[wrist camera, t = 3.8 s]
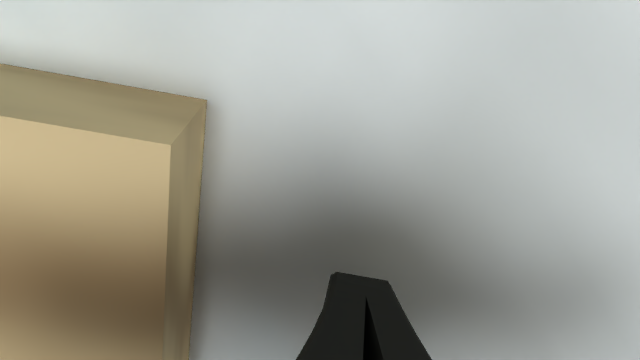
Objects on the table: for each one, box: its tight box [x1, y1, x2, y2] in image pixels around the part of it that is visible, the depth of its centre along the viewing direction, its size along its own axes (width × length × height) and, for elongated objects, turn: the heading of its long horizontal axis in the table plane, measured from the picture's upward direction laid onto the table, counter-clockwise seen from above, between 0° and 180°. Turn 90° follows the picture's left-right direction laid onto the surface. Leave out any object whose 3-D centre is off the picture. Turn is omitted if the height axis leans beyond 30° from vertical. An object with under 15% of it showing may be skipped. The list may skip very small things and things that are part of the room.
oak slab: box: [0, 64, 207, 360], centre depth 12 cm, size 8×8×3 cm
